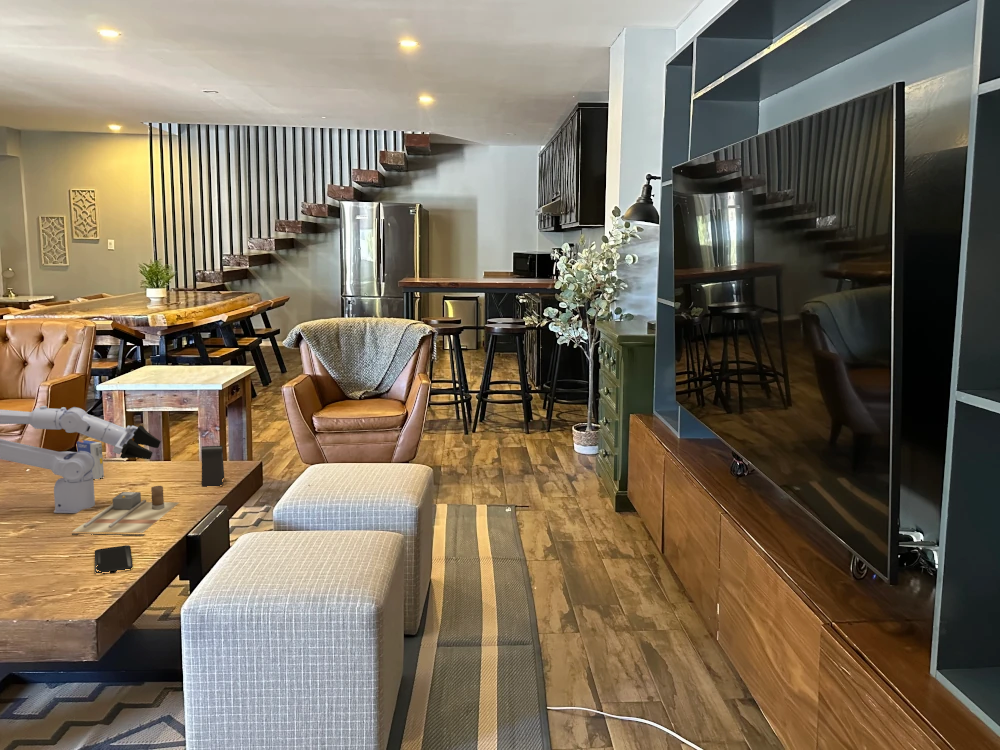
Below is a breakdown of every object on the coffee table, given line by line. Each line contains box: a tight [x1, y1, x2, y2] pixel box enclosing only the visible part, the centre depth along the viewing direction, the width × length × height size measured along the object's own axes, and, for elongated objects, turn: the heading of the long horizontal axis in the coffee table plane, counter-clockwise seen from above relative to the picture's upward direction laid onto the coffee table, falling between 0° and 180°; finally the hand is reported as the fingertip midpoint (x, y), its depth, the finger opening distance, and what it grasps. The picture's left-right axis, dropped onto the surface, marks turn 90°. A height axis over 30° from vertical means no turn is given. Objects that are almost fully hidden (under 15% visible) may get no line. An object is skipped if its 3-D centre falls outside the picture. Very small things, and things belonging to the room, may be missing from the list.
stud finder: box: [112, 491, 142, 509], centre depth 216 cm, size 5×6×4 cm
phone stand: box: [200, 445, 225, 488], centre depth 241 cm, size 9×6×12 cm, turn 15°
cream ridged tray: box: [71, 499, 180, 537], centre depth 208 cm, size 18×24×2 cm
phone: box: [94, 544, 134, 573], centre depth 181 cm, size 8×1×15 cm
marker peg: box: [150, 485, 165, 510], centre depth 215 cm, size 3×3×6 cm
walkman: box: [76, 439, 105, 480], centre depth 244 cm, size 8×3×12 cm, turn 68°
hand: (155, 450), depth 218 cm, fingers open, 7 cm apart
